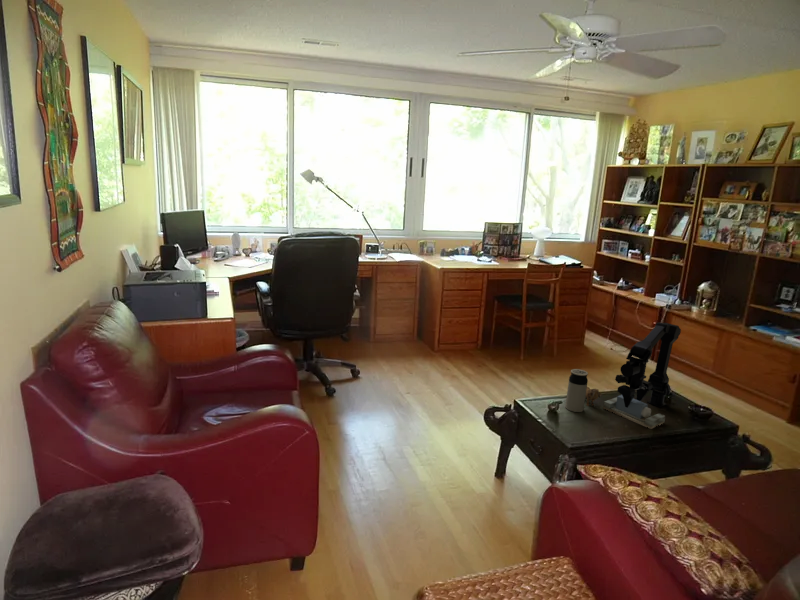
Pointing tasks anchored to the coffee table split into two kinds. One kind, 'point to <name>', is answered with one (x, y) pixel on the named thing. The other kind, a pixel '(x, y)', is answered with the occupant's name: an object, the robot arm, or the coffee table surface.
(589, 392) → the lion figurine
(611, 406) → the cradle
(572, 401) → the travel mug
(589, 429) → the coffee table surface
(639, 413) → the slate grey rectangular prism
